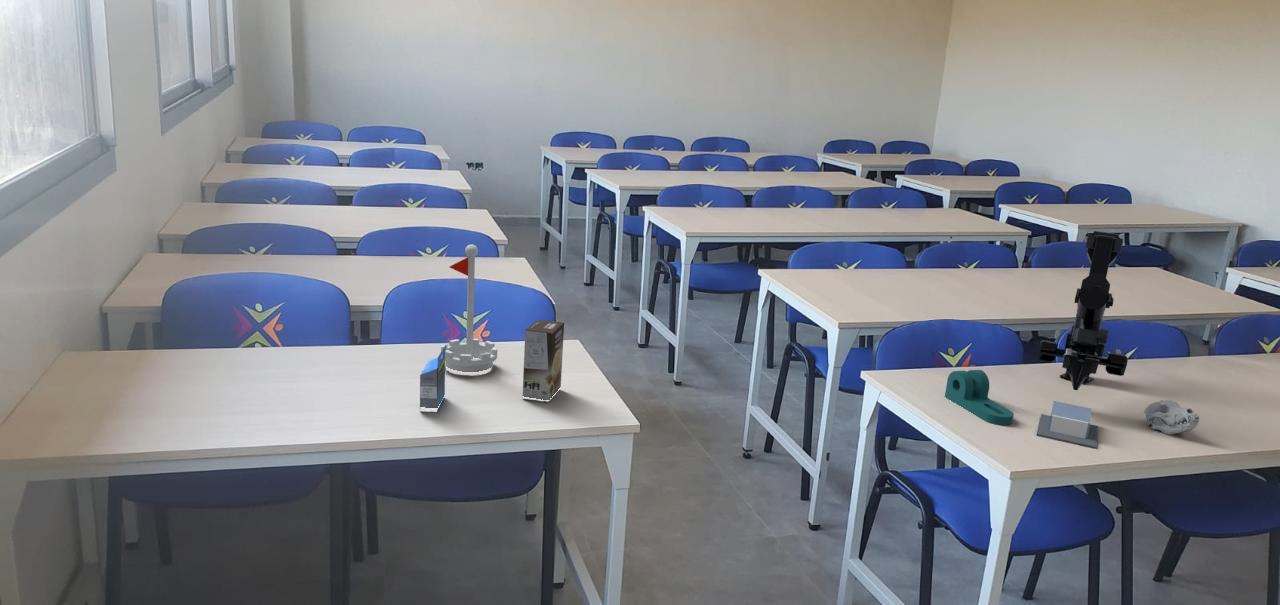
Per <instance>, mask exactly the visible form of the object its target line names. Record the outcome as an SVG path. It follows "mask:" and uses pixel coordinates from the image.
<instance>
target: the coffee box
mask: <svg viewBox="0 0 1280 605" xmlns="http://www.w3.org/2000/svg"><path fill="white" fill-rule="evenodd" d="M524 331H525V332H524V350H523V351H524V352H523V353H524V357H523V377H522V379H523V381H522V396H524V397H529V398H536V399H541V400H542V399H543V400H550V398H552V396H553V395H554V394H555V393H556V392H557V391H558V389H559V388H560V387H561V388H562V372H563V354H564V353H563V352H564V334H565V333H564V332H565V322H563V321H557V320H547V319H546V320H543V319H537V320H536V321H535V322H533V323H532V324H531V325H529V326H528V327H527V328H525V330H524ZM552 399H553V398H552Z"/></svg>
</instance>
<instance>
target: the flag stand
mask: <svg viewBox="0 0 1280 605" xmlns="http://www.w3.org/2000/svg"><path fill="white" fill-rule="evenodd" d="M464 252H465V255H466V256H467V257H465V258H464V259H461V260H460V261H457V262H455V263H454V264H453V263H452V265H450V266H449V268H450V269H452V270H454V271H457V272H458V273H460V274H463V275H465V276H467V293H466V294H467V297H466V298H467V300H466V302H467V303H466V342H461V341H460V339H458V338H456V339H451V340H449V341H448V344H447V343H442V344H441V348H440V349H441V350H440V352H441V351H442V350H443V348H444V347H445V345H446V352H445V367H446V366H447V367H448V368H450V369H453V370H457V371H462V372H479V371H483V370H487V369H489V368H491V367H492V366H493V365H494V362H495V361H496V360H497V359H498V346H495V344H496V343H494V342H492V341H489V340H486V341H485V342H484V343H480V340H479V338H474V319H475V318H474V317H475V316H474V310H475V308H474V307H475V270H476V269H475V268H476V267H475V265H476V260H475V259H476V256H477V255H478V254H479V249H478V247H477V245H475V244H468V245H467V246H466V247H465V250H464ZM460 342H461V343H460ZM442 356H443V354H442ZM473 357H474V358H479V359H473Z"/></svg>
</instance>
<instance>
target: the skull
mask: <svg viewBox="0 0 1280 605" xmlns="http://www.w3.org/2000/svg"><path fill="white" fill-rule="evenodd" d="M1143 412H1144V414H1145V419H1146V422H1147V425H1148V426H1151V429H1153V430H1158V431H1161V433H1162V434H1165V435H1175V434H1179V433H1189V432H1191V431H1193V430H1195V428H1196V427H1197V426H1198V424H1199V421H1200V416H1198V414H1197V413H1195V412H1194V410H1193V409H1191V408H1186V407H1182V406H1181V405H1179V403H1178V402H1176V401H1174V400H1170V399H1165V400H1164V399H1160V400H1159V401H1155V402H1153V403H1150V404H1149V405H1148V406H1146V407H1145V409H1144V411H1143Z"/></svg>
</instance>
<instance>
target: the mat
mask: <svg viewBox="0 0 1280 605" xmlns="http://www.w3.org/2000/svg"><path fill="white" fill-rule="evenodd" d="M1050 416H1051V415H1048V414H1043V413H1041V414H1040V418H1039V422H1038V425H1037V430H1036V437H1042V438H1046V439H1050V440H1054V441H1060V442H1064V443H1069V444H1073V445H1078V446H1083V447H1087V448H1091V449H1095V450H1096V449H1097V445H1098V443H1097V442H1098V430H1099V427H1098V425H1094V424H1091V423H1090V427H1089V432H1088V437H1087V439H1086V438H1080V437H1075V436H1071V435H1066V434H1062V433H1057V432H1052V431H1050V430H1048V426H1049V421H1050Z"/></svg>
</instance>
